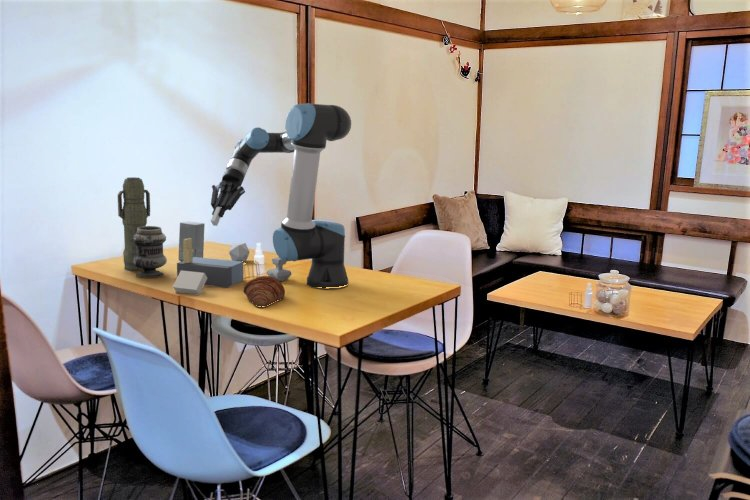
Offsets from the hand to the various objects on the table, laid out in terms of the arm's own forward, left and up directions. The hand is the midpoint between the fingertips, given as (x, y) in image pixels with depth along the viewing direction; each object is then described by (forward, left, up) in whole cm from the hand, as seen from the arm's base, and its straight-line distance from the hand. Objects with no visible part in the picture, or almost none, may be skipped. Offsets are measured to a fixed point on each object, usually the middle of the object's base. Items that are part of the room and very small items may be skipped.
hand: (213, 223), depth 236 cm
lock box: (+1, +1, -21) cm, 22 cm away
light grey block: (-9, +15, -17) cm, 24 cm away
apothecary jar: (+22, +14, -22) cm, 34 cm away
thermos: (+36, +13, -22) cm, 44 cm away
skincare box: (+38, -12, -22) cm, 46 cm away
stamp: (-12, -20, -22) cm, 32 cm away
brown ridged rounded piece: (-31, 0, -22) cm, 38 cm away
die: (+24, -26, -22) cm, 42 cm away
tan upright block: (+5, +7, -14) cm, 17 cm away
